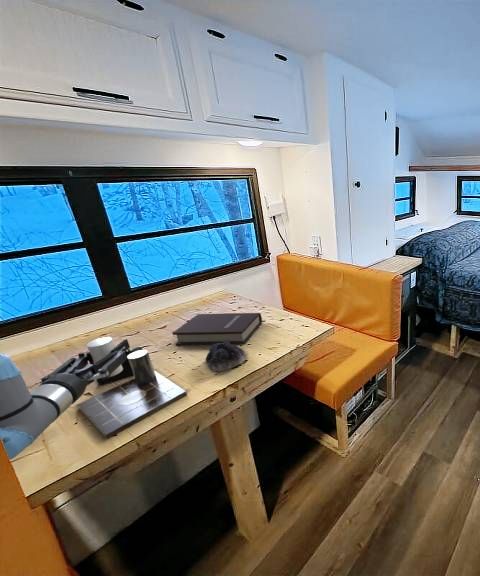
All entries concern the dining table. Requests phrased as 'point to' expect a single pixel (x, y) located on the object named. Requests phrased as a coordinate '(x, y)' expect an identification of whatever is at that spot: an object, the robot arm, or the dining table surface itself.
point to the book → (218, 329)
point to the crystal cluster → (224, 356)
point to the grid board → (129, 404)
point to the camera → (124, 373)
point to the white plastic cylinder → (102, 351)
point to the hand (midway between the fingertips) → (115, 344)
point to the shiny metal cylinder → (141, 367)
